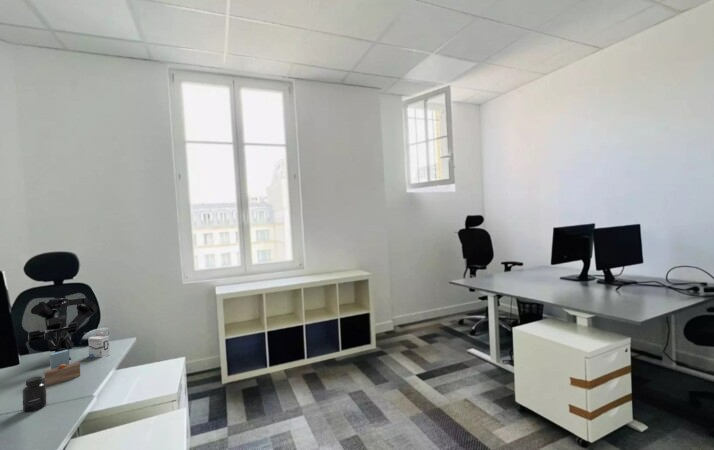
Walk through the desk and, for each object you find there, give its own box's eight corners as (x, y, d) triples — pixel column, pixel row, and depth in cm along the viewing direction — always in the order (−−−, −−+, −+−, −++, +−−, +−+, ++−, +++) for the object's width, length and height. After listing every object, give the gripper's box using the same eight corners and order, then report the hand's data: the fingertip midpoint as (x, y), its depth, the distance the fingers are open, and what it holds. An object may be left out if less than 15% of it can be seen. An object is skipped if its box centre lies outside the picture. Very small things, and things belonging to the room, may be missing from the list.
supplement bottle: (31, 413, 126) (30, 383, 126) (18, 412, 128) (16, 382, 127) (51, 404, 133) (50, 375, 133) (38, 402, 134) (37, 374, 134)
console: (42, 380, 154) (41, 363, 154) (75, 370, 164) (74, 355, 163) (46, 388, 146) (45, 370, 146) (80, 378, 155) (79, 361, 155)
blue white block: (50, 375, 156) (49, 353, 156) (68, 370, 161) (67, 349, 161) (51, 378, 154) (50, 355, 154) (69, 372, 159) (68, 350, 158)
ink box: (88, 359, 178) (87, 332, 178) (96, 355, 183) (95, 329, 183) (102, 359, 177) (101, 332, 177) (110, 355, 182) (109, 329, 182)
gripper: (27, 315, 159) (30, 342, 152) (76, 307, 173) (81, 331, 166) (26, 328, 164) (30, 355, 157) (74, 319, 178) (79, 343, 171)
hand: (56, 345), depth 163 cm, fingers closed
